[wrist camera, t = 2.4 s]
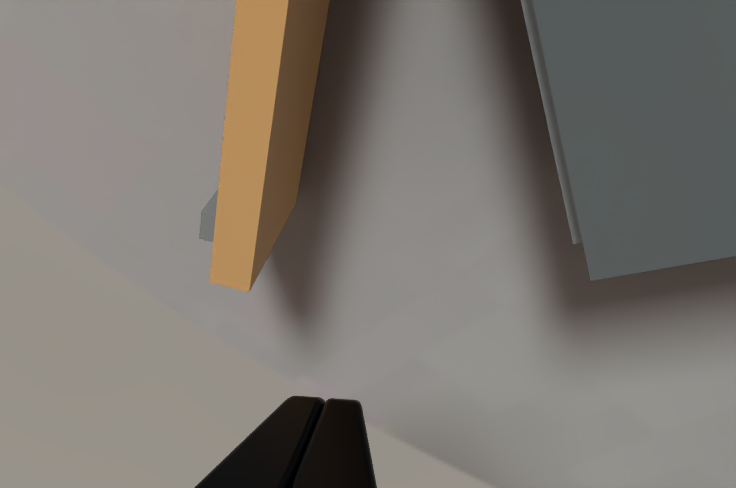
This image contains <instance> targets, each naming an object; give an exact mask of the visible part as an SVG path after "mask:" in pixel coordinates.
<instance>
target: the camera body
mask: <svg viewBox="0 0 736 488" xmlns="http://www.w3.org/2000/svg"><path fill="white" fill-rule="evenodd" d="M521 4H522V9H523V13H524V18H525V23H526V27H527V32H528V36H529V41H530V46H531V50H532V55H533V60H534V64H535V69H536V74H537V78H538V83H539V88H540V92H541V97H542V102H543V106H544V111H545V116H546V120H547V125H548V130H549V134H550V139H551V143H552V148H553V153H554V157H555V162H556V167H557V171H558V176H559V181H560V185H561V190H562V195H563V199H564V204H565V209H566V213H567V218H568V223H569V227H570V232H571V237H572V241H573V244H578V243H583V248H584V252H585V257H586V262H587V267H588V272H589V276H590V281H594V280H599V279H605V278H611V277H617V276H623V275H629V274H635V273H640V272H646V271H652V270H658V269H664V268H670V267H676V266H681V265H687V264H693V263H699V262H705V261H711V260H717V259H722V258H728V257H734V256H736V0H521Z"/></svg>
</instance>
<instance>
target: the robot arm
mask: <svg viewBox="0 0 736 488" xmlns="http://www.w3.org/2000/svg"><path fill="white" fill-rule="evenodd" d="M195 488H377V486H376V480H375V475H374V470H373V464H372V459H371V453H370V448H369V443H368V438H367V433H366V427H365V421H364V416H363V410H362V406H361V403H360V402H359V401H357V400H348V399H334V398H331V399H328V400H327V401H326V402H325V401H324V400H323V399H322V398H319V397H304V396H292V397H290V398H288V399H287V400H285V401H284V402H283V403H282V404H281V405H280V406H279V407H278V408H277V409H276V410H275V411H274V412H273V413H272V414H271V415H270V416H269V417H268V418H267V419H266V420H265V421H264V422H262V423H261V424H260V425H259V426H258V427H257V428H256V429H255V430H254V431H253V432H252V433H251V434H250V435H249V436H248V437H247V438H246V439H245V440H244V441H243V442H242V443H241V444H239V445H238V446H237V447H236V448H235V449H234V450H233V451H232V452H231V453H230V454H229V455H228V456H227V457H226V458H225V459H224V460H223V461H222V462H221V463H220V464H219V465H218V466H216V467H215V468H214V469H213V470H212V471H211V472H210V473H209V474H208V475H207V476H206V477H205V478H204V479H203V480H202V481H201V482H200V483H199V484H198V485H197V486H196V487H195Z"/></svg>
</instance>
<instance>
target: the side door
mask: <svg viewBox="0 0 736 488" xmlns="http://www.w3.org/2000/svg"><path fill="white" fill-rule="evenodd" d="M329 2H330V0H236V7H235V17H234V28H233V38H232V49H231V60H230V70H229V81H228V91H227V102H226V112H225V123H224V133H223V144H222V155H221V165H220V176H219V186H218V190H217V191H216V193H215V194H214V195H213V197H212V198H211V199H210V201H209V202H208V203H207V205H206V206H205V207H204V209H203V210H202V212H201V224H200V236H199V238H200V239H203V240H207V241H211V242H213V250H212V260H211V271H210V281H209V282H212V283H216V284H220V285H223V286H227V287H231V288H235V289H239V290H242V291H246V292H250V290H251V288H252V286H253V284H254V282H255V280H256V278H257V276H258V275H259V273H260V271H261V269H262V267H263V265H264V263H265V261H266V259H267V257H268V256H269V254H270V252H271V250H272V248H273V246H274V244H275V242H276V240H277V239H278V237H279V235H280V233H281V231H282V229H283V227H284V225H285V223H286V222H287V220H288V218H289V216H290V214H291V212H292V210H293V208H294V206H295V204H296V200H297V194H298V188H299V182H300V176H301V170H302V164H303V158H304V152H305V146H306V140H307V134H308V128H309V122H310V116H311V110H312V104H313V98H314V92H315V86H316V80H317V74H318V68H319V62H320V56H321V50H322V44H323V38H324V32H325V26H326V20H327V14H328V8H329Z"/></svg>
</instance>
